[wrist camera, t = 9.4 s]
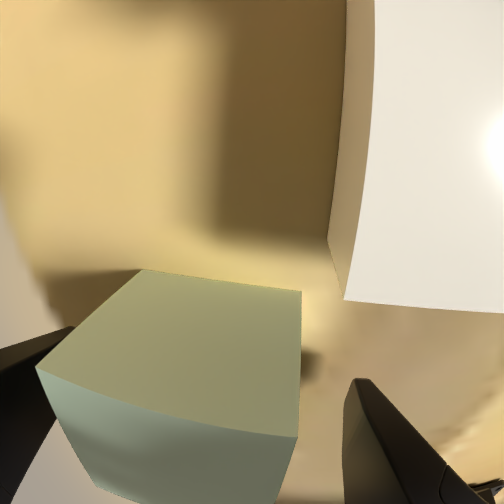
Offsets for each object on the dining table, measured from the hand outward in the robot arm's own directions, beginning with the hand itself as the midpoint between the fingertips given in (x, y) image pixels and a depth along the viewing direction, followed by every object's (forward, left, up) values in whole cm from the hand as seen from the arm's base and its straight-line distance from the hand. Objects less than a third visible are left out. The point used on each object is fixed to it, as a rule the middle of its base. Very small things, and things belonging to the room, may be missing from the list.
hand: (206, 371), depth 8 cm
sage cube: (0, 0, -1) cm, 1 cm away
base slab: (+9, -6, -1) cm, 11 cm away
